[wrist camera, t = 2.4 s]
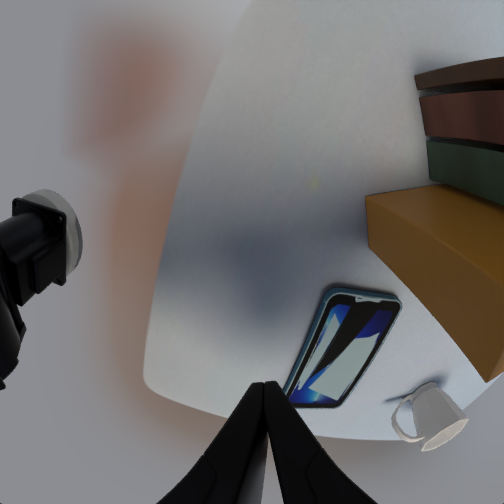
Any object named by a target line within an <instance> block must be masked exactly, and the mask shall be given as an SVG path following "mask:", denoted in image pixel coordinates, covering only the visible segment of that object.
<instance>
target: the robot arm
mask: <svg viewBox="0 0 504 504" xmlns="http://www.w3.org/2000/svg"><path fill="white" fill-rule="evenodd" d="M60 217H61V218H62V220H61V219H60ZM66 225H67V216H66V214H65V213H64V212H63V211H59V210H56V209H53V208H50V207H47V206H44V205H40V204H37V203H34V202H31V201H28V200H25V199H22V198H15V199H14V200H13V201H12V217H11V218H9V219H7V220H5V221H3V222H1V223H0V390H3V389H5V387H6V385H5V384H4V382H3V380H4V379H5V378H7V377H8V376H9V375H10V373H12V372H13V370H14V369H15V367H16V366H17V364H18V362H19V361H18V359H17V357H18V354H19V350H20V347H21V346H20V345H21V342H22V339H23V337H24V334H25V332H26V326H25V324H24V322H23V321H22V318H21V316H20V313H19V310H18V307H17V304H18V305H19V306H23V305H24V304H25V303H26V302H27V301H28V300H29V299H30V298H31V297H32V296H33V295H34V294H35V293H37V294H40V293H41V292H42V291H43V290H44V289H45V288H46V287H47V286H49V285H50V284H51V283H52V282H53V283H55V284H58V285H60V286H63V285H64V284H65V283H66ZM60 279H61V280H60ZM268 437H269V438H270V443H271V448H272V452H273V457H274V461H275V466H276V471H277V475H278V480H279V483H280V489H281V493H282V497H283V502H284V504H377V503H376V502H375V501H374V500H373V499H372V498H371V497H369V496H368V495H367V494H366V493H365V492H364V491H363V490H362V489H360V488H359V487H358V486H357V485H356V484H355V483H354V482H353V481H352V480H351V479H349V478H348V477H347V476H346V475H345V474H344V472H342V470H341V469H340V468H338V466H337V465H336V464H335V463H334V461H333V460H332V459H331V458H330V457H329V455H328V454H327V452H326V451H325V450H324V448H322V446H321V445H320V443H319V442H318V441H317V439H316V438H315V436H314V435H313V434H312V432H311V431H310V429H309V428H308V427H307V425H306V424H305V422H304V421H303V419H302V418H301V417H300V415H299V414H298V412H297V411H296V409H295V408H294V406H293V405H292V403H291V402H290V400H289V399H288V398H287V396H286V395H285V393H284V392H283V390H282V389H281V387H280V386H279V384H278V383H277V381H267V382H265V383H263V382H256V383H252V384H251V385H250V386H249V388H248V390H247V391H246V393H245V394H244V396H243V397H242V399H241V400H240V402H239V403H238V405H237V406H236V408H235V409H234V411H233V412H232V414H231V415H230V417H229V418H228V420H227V421H226V423H225V424H224V426H223V427H222V428H221V430H220V431H219V433H218V434H217V436H216V437H215V439H214V440H213V441H212V443H211V444H210V445H209V447H208V448H207V449H206V451H205V452H204V455H202V456H201V457H200V458H199V460H198V461H197V463H196V464H195V465H194V466H193V468H192V469H191V470H190V471H189V472H188V474H187V475H186V476H185V477H184V478H183V479H182V480H181V481H180V482H179V483H178V484H177V485H176V486H175V487H174V488H173V489H172V490H171V491H170V492H169V493H168V494H166V495H165V496H164V497H163V498H162V499H161V500H160V501H159V502H158V503H156V504H261V499H262V490H263V482H264V474H265V465H266V457H267V448H268ZM0 504H1V503H0ZM503 504H504V503H503Z"/></svg>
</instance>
